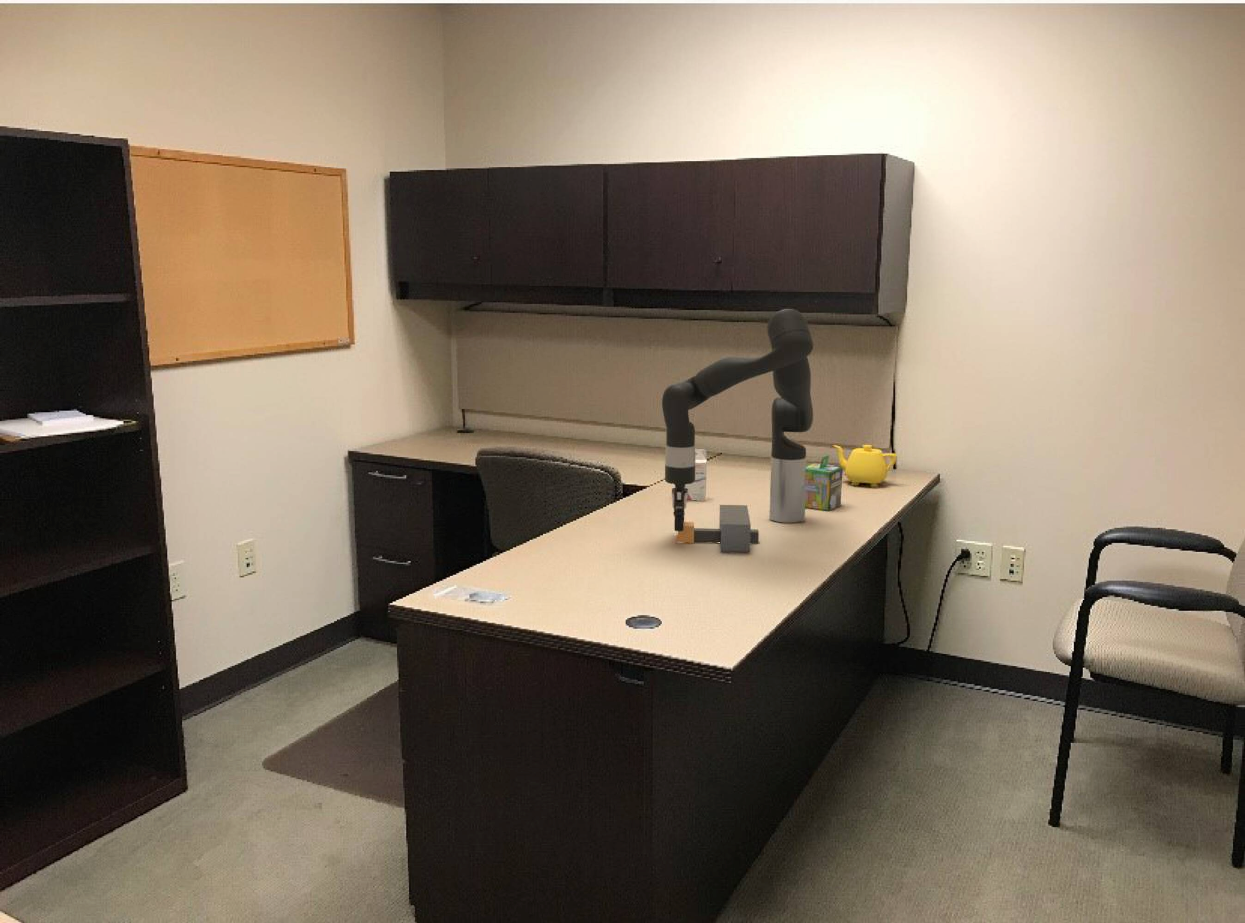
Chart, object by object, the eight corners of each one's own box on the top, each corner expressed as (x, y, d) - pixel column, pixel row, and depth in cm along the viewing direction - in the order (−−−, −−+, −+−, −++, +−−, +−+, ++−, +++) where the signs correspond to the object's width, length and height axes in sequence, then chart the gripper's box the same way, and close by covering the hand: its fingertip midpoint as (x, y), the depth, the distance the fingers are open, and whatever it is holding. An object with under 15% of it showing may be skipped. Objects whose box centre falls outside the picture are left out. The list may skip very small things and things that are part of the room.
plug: (757, 540, 257) (758, 523, 256) (758, 544, 252) (759, 527, 252) (678, 538, 258) (678, 521, 257) (677, 543, 254) (677, 525, 253)
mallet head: (746, 531, 265) (746, 505, 263) (749, 552, 245) (750, 524, 244) (719, 530, 265) (719, 504, 264) (720, 552, 246) (721, 524, 244)
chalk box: (812, 501, 299) (814, 451, 296) (841, 505, 294) (844, 454, 291) (798, 507, 291) (800, 456, 288) (829, 511, 286) (831, 459, 283)
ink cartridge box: (676, 500, 299) (677, 451, 296) (677, 496, 304) (677, 448, 301) (705, 501, 298) (706, 452, 295) (706, 497, 303) (707, 448, 300)
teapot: (834, 477, 332) (835, 439, 330) (897, 481, 325) (899, 443, 323) (828, 485, 320) (829, 446, 317) (893, 490, 313) (895, 450, 311)
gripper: (695, 469, 245) (693, 534, 249) (695, 457, 259) (694, 519, 262) (663, 468, 246) (663, 533, 249) (666, 457, 260) (665, 518, 263)
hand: (679, 526), depth 256 cm, fingers open, 8 cm apart
